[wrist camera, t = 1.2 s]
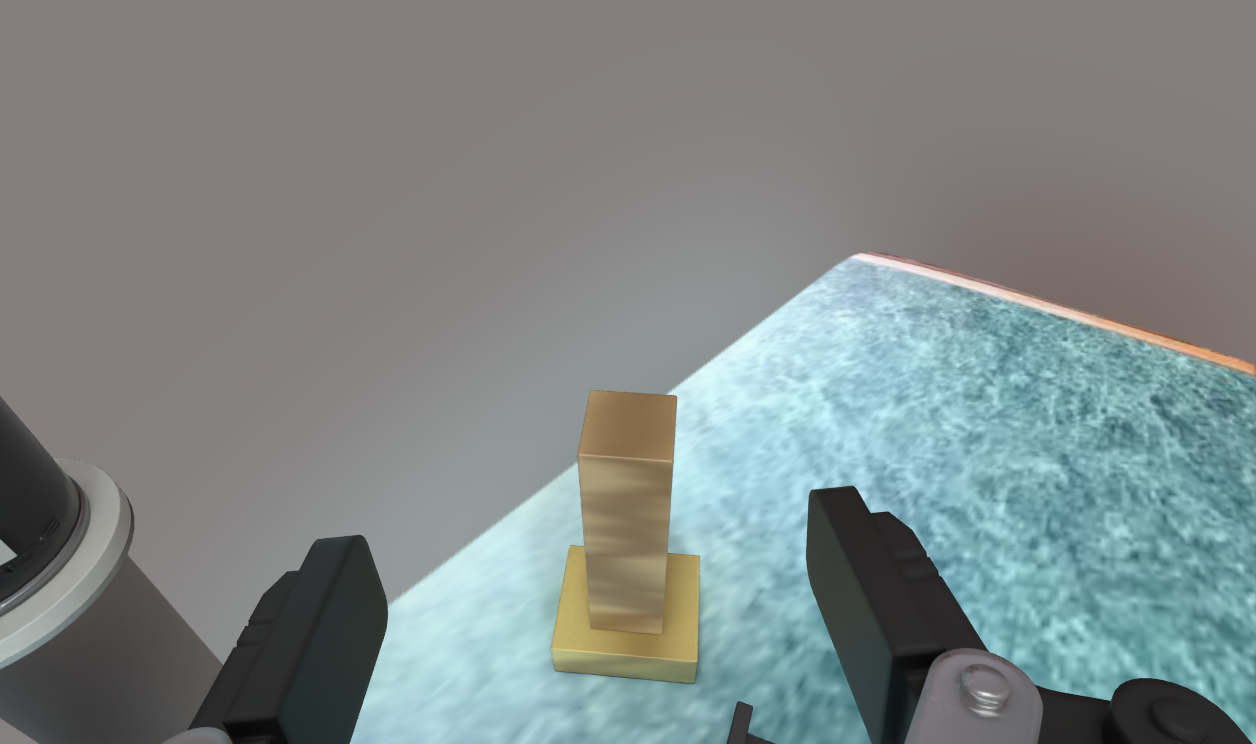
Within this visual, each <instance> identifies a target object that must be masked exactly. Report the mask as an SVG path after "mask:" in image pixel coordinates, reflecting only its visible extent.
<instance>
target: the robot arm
mask: <svg viewBox="0 0 1256 744" xmlns="http://www.w3.org/2000/svg"><path fill="white" fill-rule="evenodd" d="M90 513H91V510H90V503H89V499H88V497H87V495H86V493H85V492H84V491H83V489H82V488H81V487H80V486H79V485H78V484H77V482H76V481H75V480H74V479H72V478H71V477H70V476H68V475H67V474H66V473H65V472H64V471H63V470H62V469H61V467H60V466H59V465H58V464H57V463H56V461H55V460H54V459H53V458H52V457H51V456H50V454H49V453H48V452H47V451H46V450H45V449H44V448H43V446H42V445H41V444H40V442H39V441H38V440H37V439H36V437H35V436H34V435H33V434H32V433H31V432H30V430H29V429H28V428H27V427H26V426H25V425H24V423H23V422H22V421H21V420H20V419H19V418H18V416H17V415H16V414H15V413H14V412H13V411H12V410H11V408H10V407H9V406H8V405H7V404H6V402H5V401H4V400H3V399H2V398H1V397H0V617H1V616H3V615H5V614H6V613H8V612H10V611H11V610H13V609H15V608H16V607H18V606H19V605H20V604H22V603H23V602H25V601H26V600H28V599H29V598H30V597H31V596H33V595H34V594H35V593H37V592H38V591H39V590H40V589H41V588H43V587H44V586H45V585H46V584H47V583H48V582H49V581H50V580H52V579H53V578H54V577H55V576H56V575H57V574H58V573H59V572H60V570H61V569H62V568H63V567H64V566H65V565H66V564H67V562H68V561H69V560H70V559H71V558H72V556H73V555H74V553H75V552H76V550H77V549H78V547H79V546H80V544H81V542H82V540H83V538H84V536H85V534H86V531H87V529H88V526H89V521H90ZM806 562H807V570H808V576H809V580H810V584H811V588H812V591H813V593H814V596H815V598H816V601H817V604H818V606H819V609H820V611H821V614H822V616H823V619H824V622H825V624H826V627H827V629H828V632H829V634H830V637H831V640H832V642H833V645H834V647H835V650H836V652H837V655H838V658H839V660H840V663H841V665H842V668H843V670H844V673H845V676H846V678H847V681H848V683H849V686H850V688H851V691H852V693H853V696H854V699H855V701H856V704H857V706H858V709H859V711H860V714H861V717H862V719H863V722H864V724H865V727H866V729H867V732H868V735H869V737H870V740H871V742H872V744H1252V743H1251V741H1250V740H1249V739H1248V738H1247V737H1246V735H1245V734H1244V733H1243V732H1242V731H1241V730H1240V728H1239V727H1238V726H1237V725H1236V724H1235V722H1234V721H1233V720H1232V719H1231V718H1230V717H1229V716H1228V715H1227V714H1226V713H1225V712H1224V711H1222V710H1221V709H1220V708H1219V707H1218V706H1216V705H1215V704H1214V703H1212V702H1211V701H1209V700H1208V699H1206V698H1205V697H1203V696H1201V695H1200V694H1198V693H1196V692H1194V691H1192V690H1190V689H1188V688H1186V687H1183V686H1181V685H1178V684H1175V683H1172V682H1168V681H1164V680H1159V679H1152V678H1139V679H1133V680H1129V681H1126V682H1124V683H1123V684H1121V685H1120V686H1119V687H1118V688H1117V689H1116V690H1115V692H1114V694H1113V697H1112V699H1111V701H1108V700H1103V699H1097V698H1091V697H1086V696H1080V695H1074V694H1069V693H1063V692H1058V691H1053V690H1049V689H1046V688H1043V687H1040V686H1037V685H1034V683H1033V682H1032V681H1031V680H1030V678H1029V677H1028V676H1027V675H1026V674H1025V673H1024V672H1023V671H1022V670H1021V669H1019V668H1018V667H1017V666H1015V665H1014V664H1013V663H1011V662H1009V661H1008V660H1006V659H1004V658H1002V657H1000V656H998V655H996V654H993V653H990V652H989V651H988V649H987V648H986V647H985V645H984V644H983V642H982V640H981V639H980V637H979V636H978V634H977V632H976V631H975V629H974V628H973V626H972V624H971V623H970V621H969V620H968V618H967V616H966V615H965V613H964V612H963V610H962V609H961V607H960V605H959V604H958V602H957V601H956V599H955V597H954V596H953V594H952V593H951V591H950V589H949V588H948V586H947V585H946V583H945V581H944V580H943V578H942V577H941V576H940V577H939V574H938V570H937V569H936V567H935V565H934V564H933V562H932V561H931V559H930V557H927V554H926V551H925V549H924V548H923V546H922V545H921V543H920V542H919V540H918V538H917V537H916V535H915V534H914V532H913V530H912V529H910V528H909V527H908V526H906V525H905V524H904V523H903V522H901V521H900V520H899V519H897V518H896V517H895V516H893V515H892V514H891V513H890V512H878V513H870V512H869V510H868V508H867V506H866V504H865V503H864V501H863V499H862V497H861V496H860V494H859V492H858V490H857V489H856V488H855V487H854V486H845V487H835V488H825V489H816V490H811V492H810V494H809V503H808V524H807V546H806ZM387 621H388V606H387V600H386V595H385V592H384V589H383V587H382V584H381V581H380V578H379V575H378V572H377V569H376V566H375V564H374V560H373V558H372V555H371V552H370V549H369V546H368V543H367V541H366V539H365V538H364V537H363V536H362V535H355V536H344V537H335V538H324V539H318V540H316V541H315V542H314V543H313V545H312V546H311V549H310V550H309V552H308V554H307V556H306V558H305V560H304V562H303V564H302V566H301V568H300V570H299V571H290V572H286V573H285V574H284V575H283V576H282V577H281V578H280V579H279V580H278V581H277V582H276V583H275V584H274V585H273V586H272V587H271V588H270V589H269V590H268V591H266V592H265V593H264V594H263V596H262V597H261V599H260V601H259V603H258V604H257V606H256V608H255V610H254V612H253V614H252V615H251V617H250V619H249V625H248V626H245V628H244V630H243V631H242V633H241V635H240V637H239V639H238V640H237V647H235V648H233V650H232V652H231V653H230V655H229V657H228V659H227V661H226V662H225V664H224V666H223V668H222V669H221V671H220V673H219V675H218V677H217V678H216V680H215V682H214V684H213V686H212V687H211V689H210V691H209V693H208V695H207V696H206V698H205V700H204V702H203V704H202V705H201V707H200V709H199V711H198V713H197V714H196V716H195V718H194V720H193V722H192V723H191V725H190V727H189V729H188V730H187V731H184V732H182V733H179V734H177V735H175V736H173V737H171V738H169V739H167V740H165V741H164V742H162V743H161V744H350V741H351V738H352V735H353V732H354V728H355V725H356V722H357V719H358V716H359V713H360V710H361V707H362V704H363V701H364V698H365V695H366V691H367V688H368V685H369V682H370V679H371V676H372V673H373V670H374V667H375V664H376V661H377V657H378V654H379V651H380V648H381V645H382V642H383V639H384V636H385V632H386V628H387Z"/></svg>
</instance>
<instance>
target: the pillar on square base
mask: <svg viewBox="0 0 1256 744" xmlns="http://www.w3.org/2000/svg"><path fill="white" fill-rule="evenodd" d="M676 411H677V396H675V395H660V394H644V393H628V392H614V391H613V392H612V391H598V390H591V391H590V394H589V398H588V404H587V409H586V414H585V419H584V424H583V430H582V434H581V439H580V444H579V449H578V455H577V457H578V470H579V483H580V496H581V509H582V522H583V536H584V546H573V545H570V547H569V552H568V558H567V563H566V569H565V574H564V579H563V585H562V590H561V596H560V601H559V607H558V612H557V618H556V623H555V629H554V634H553V640H552V645H551V652H552V658H553V665H554V670H555V671H565V672H575V673H586V674H597V675H607V676H618V677H629V678H639V679H650V680H661V681H671V682H682V683H695V677H696V670H697V663H698V619H699V567H700V556H698V555H685V554H673V553H667V552H668V537H669V522H670V507H671V492H672V477H673V462H674V445H675V428H676Z"/></svg>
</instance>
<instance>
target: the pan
mask: <svg viewBox="0 0 1256 744" xmlns="http://www.w3.org/2000/svg"><path fill="white" fill-rule="evenodd" d="M752 711H753V706H751V705H748V704H745V703H743V702H740V701H738V702H737V705H736V709H735V713H734V717H733V721H732V725H731V729H730V733H729V737H728V741H727V744H774V743H772V742H769V741H766V740H764V739H761V738H758V737H756V736H753V735H750V734H748V733H747V732H748V728H749V724H750V719H751V715H752Z"/></svg>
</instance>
